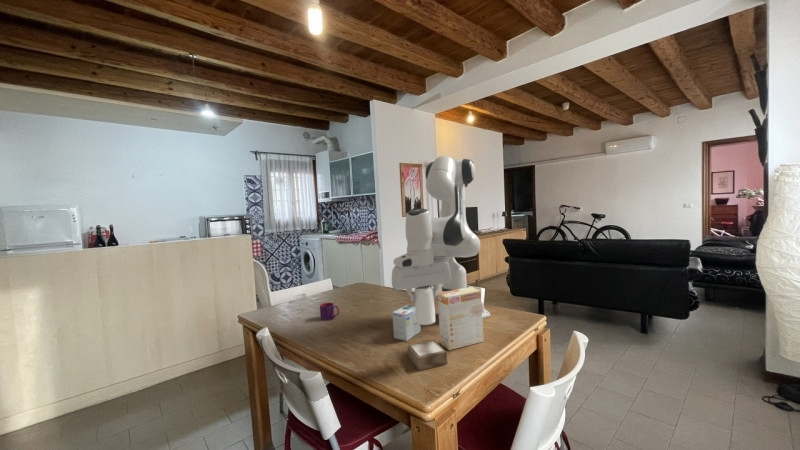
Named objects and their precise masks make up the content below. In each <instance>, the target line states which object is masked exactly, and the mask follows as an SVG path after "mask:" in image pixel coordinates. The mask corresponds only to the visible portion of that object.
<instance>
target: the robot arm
mask: <svg viewBox="0 0 800 450" xmlns="http://www.w3.org/2000/svg"><path fill="white" fill-rule="evenodd" d="M424 173H425V174H424V175H425V179H426V181H425V188H426V191H427V193H428V194H429V195H430V196H431V197H432V198H433V199H435V200H438V201H441V209H440V210H441V212H440V217H431V213H430V210H429V209H426V208H416V209H411V210H409V211H408V212H407V213H406V216H405V239H406V243H407V246H406V253H404V254H402V255H400V256H397V257H396V258H394V259H393V264H394V267H393V268H392V271H391V287H392V288H393V289H394V290H395V291H402V290H403V291H404V290H405V291H406V293H407V294H408V296H409V301H410V303H411V302H415V301H416V296H415V295H414V294H412V292H413V289H415V288H417V287H424V286H432V287H433V288H432V289H433V294H434V299H436V298H437V293H438V291H439V288H440V285H442V287H441V292H445V291H451V290H456V289H462V288H467V287H470V285H468V283H467V282H468V280H467V270H466V268H465V267H464V266H463V265H461V264H460V263H458V262H457V260H456V258H471V257H474V256H477V255H478V254H479V252H480V250H481V240H480V238H479V236H477V234H476V233H474V232H473V231H472V229H470V227H469V224H468V222H467V216H466V215H467V213H466V211H467V210H466V206H467V205H466V203H467V202H466V199H467V197H466V189H465V188H467V187H468V185H469V184H471V183H472V182H473V180H474V179H475V176H476V165H475V163H474V161H473V160H472V159H469V158H463V159H460V158H459V159H458V158H457V159H455V158H454V159H453V158H452V157H450V156H448V155H441V156H438V157H436V158H435V159H434V160H433V162H431V163H429V164H428V165H427V166H426V168H425V172H424ZM481 305H482V320H483V319H485V318H489V317H491V313H490V312H489V310H487V309H486V308H485V306H484V302H483V301H482V300H481Z"/></svg>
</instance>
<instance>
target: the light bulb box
mask: <svg viewBox="0 0 800 450" xmlns="http://www.w3.org/2000/svg"><path fill="white" fill-rule="evenodd" d="M391 315H392V326H393V328H392V329H393V337H394V339H397V340H401V341H405V342H407V341H409V340H410V339H412V338H413V337H415V336H416V335H418V334H419V333H421V331H422V329H421V325H419V324H418V323H417V322H416V313H415V305H410V304H405V305H403V306H402V307H400V308H398V309H396V310H394V311H392V314H391Z"/></svg>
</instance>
